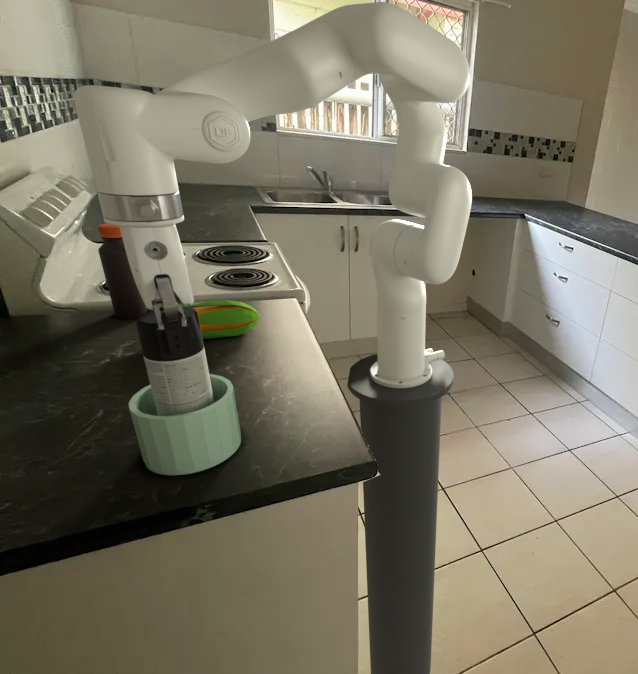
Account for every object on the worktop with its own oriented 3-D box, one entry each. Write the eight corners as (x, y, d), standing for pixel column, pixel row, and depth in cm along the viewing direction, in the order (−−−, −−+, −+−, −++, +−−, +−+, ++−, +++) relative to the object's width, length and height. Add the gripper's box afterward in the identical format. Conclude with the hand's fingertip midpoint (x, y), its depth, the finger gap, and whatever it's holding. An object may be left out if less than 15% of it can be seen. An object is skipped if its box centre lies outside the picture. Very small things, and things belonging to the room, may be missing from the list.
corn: (256, 303, 99) (139, 311, 91) (260, 337, 102) (147, 348, 93) (256, 294, 105) (146, 300, 97) (260, 326, 108) (154, 335, 99)
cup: (230, 416, 76) (222, 366, 72) (250, 455, 68) (242, 401, 64) (139, 440, 68) (124, 386, 65) (149, 487, 60) (133, 429, 57)
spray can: (227, 428, 72) (205, 304, 64) (212, 456, 66) (185, 324, 58) (177, 430, 70) (148, 304, 62) (157, 459, 64) (122, 323, 56)
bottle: (156, 314, 108) (136, 227, 100) (119, 321, 103) (95, 229, 95) (147, 306, 112) (127, 221, 104) (111, 312, 107) (88, 223, 99)
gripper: (195, 220, 51) (220, 362, 58) (170, 195, 63) (193, 315, 70) (106, 224, 46) (145, 377, 53) (97, 196, 58) (129, 324, 65)
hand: (172, 342), depth 61 cm, fingers open, 9 cm apart
